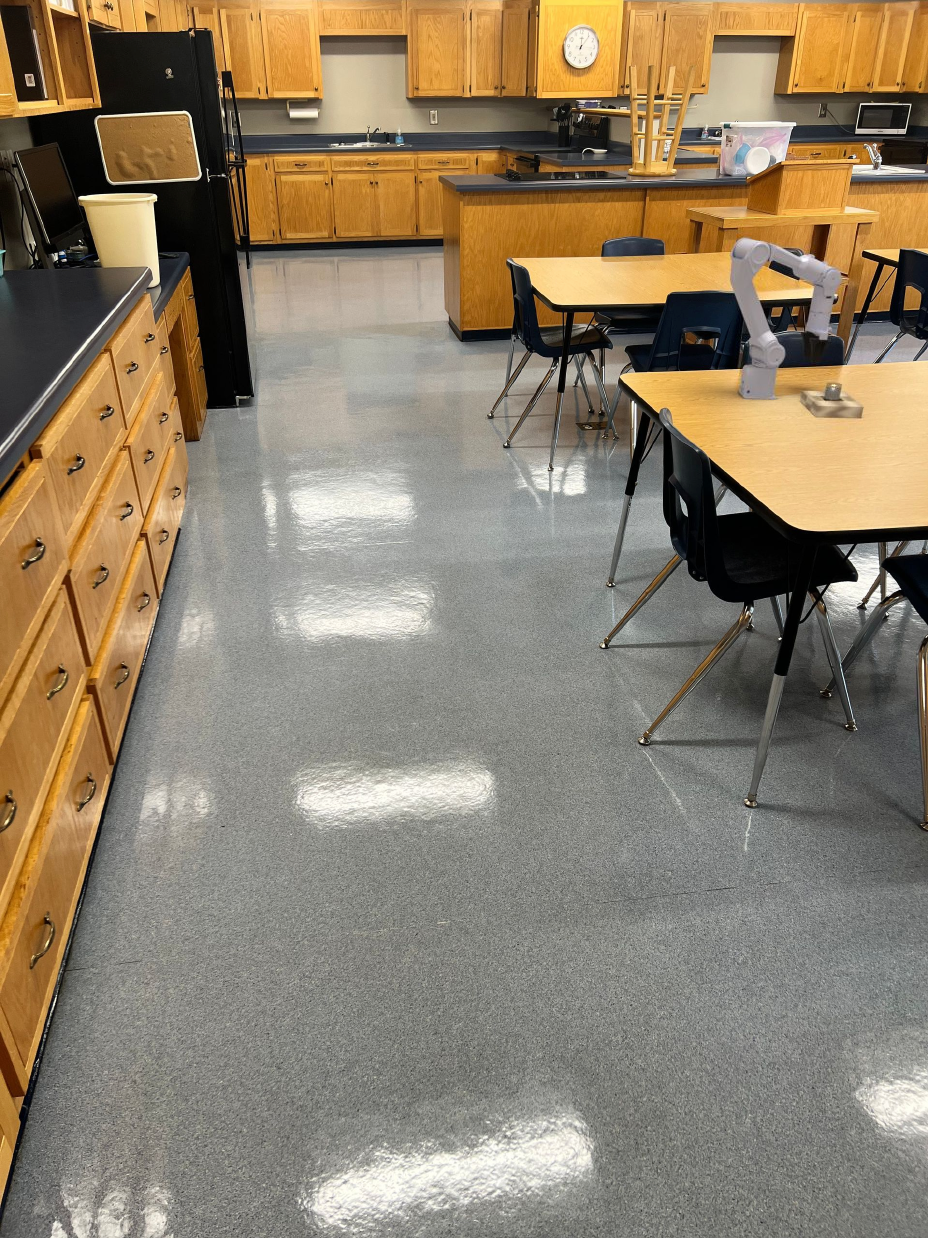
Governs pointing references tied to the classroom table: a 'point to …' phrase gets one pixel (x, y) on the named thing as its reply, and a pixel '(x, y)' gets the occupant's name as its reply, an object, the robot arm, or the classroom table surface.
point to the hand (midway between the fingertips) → (811, 360)
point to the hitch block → (831, 405)
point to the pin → (832, 391)
